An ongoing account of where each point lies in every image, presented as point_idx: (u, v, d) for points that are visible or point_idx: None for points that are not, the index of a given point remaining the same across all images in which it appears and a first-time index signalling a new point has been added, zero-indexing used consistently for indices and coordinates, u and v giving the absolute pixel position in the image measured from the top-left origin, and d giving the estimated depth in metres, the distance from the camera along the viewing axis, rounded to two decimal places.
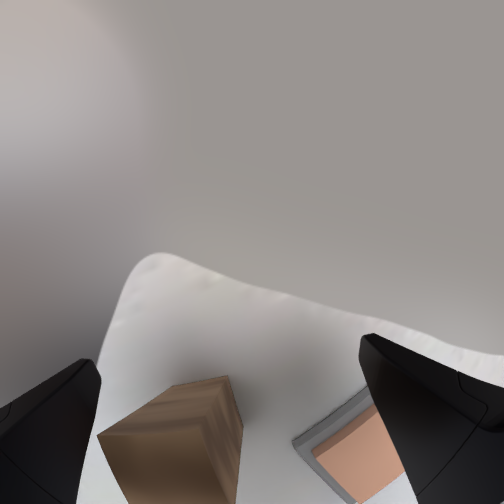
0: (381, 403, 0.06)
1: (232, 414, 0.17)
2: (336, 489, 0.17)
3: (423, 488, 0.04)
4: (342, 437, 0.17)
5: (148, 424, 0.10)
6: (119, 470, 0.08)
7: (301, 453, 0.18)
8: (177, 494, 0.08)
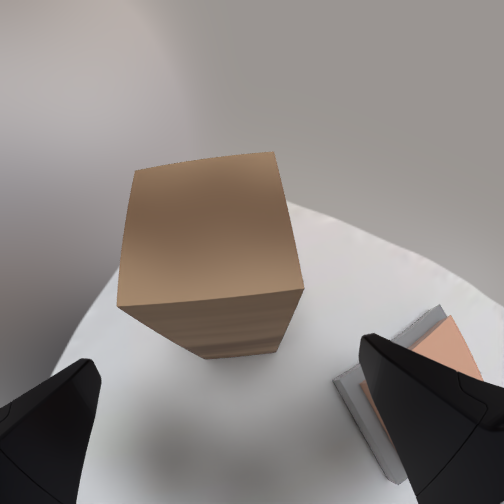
0: (381, 403, 0.06)
1: None
2: (385, 453, 0.13)
3: (423, 488, 0.04)
4: None
5: None
6: (139, 211, 0.08)
7: (347, 387, 0.15)
8: (217, 241, 0.08)
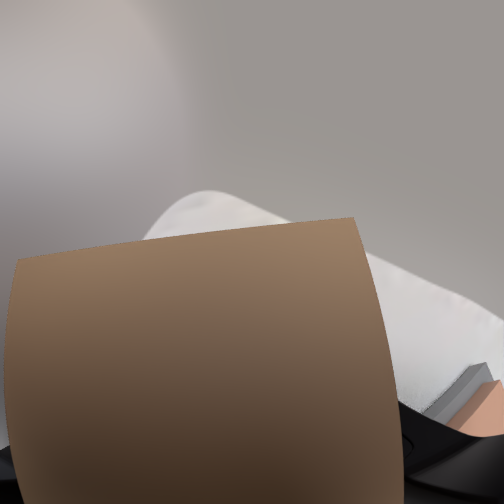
0: None
1: None
2: None
3: None
4: None
5: None
6: (21, 386, 0.02)
7: None
8: None
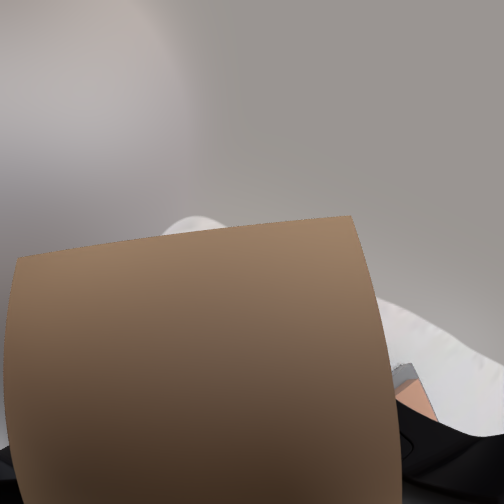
0: None
1: None
2: None
3: None
4: None
5: None
6: (20, 383, 0.02)
7: None
8: None
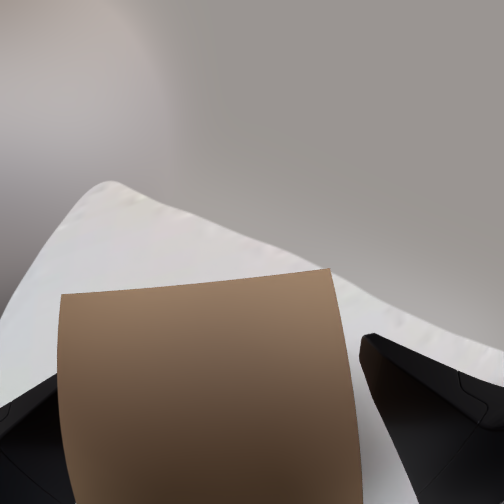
0: (381, 403, 0.06)
1: None
2: None
3: (424, 488, 0.04)
4: None
5: None
6: (76, 396, 0.04)
7: None
8: (224, 487, 0.03)
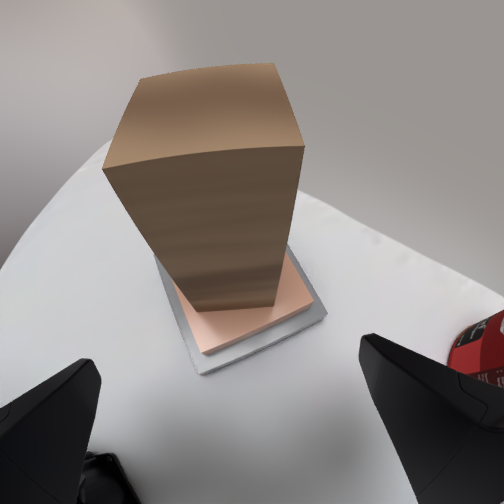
0: (381, 403, 0.06)
1: None
2: (183, 330, 0.19)
3: (423, 488, 0.04)
4: None
5: None
6: (141, 101, 0.07)
7: (158, 261, 0.21)
8: (215, 112, 0.07)
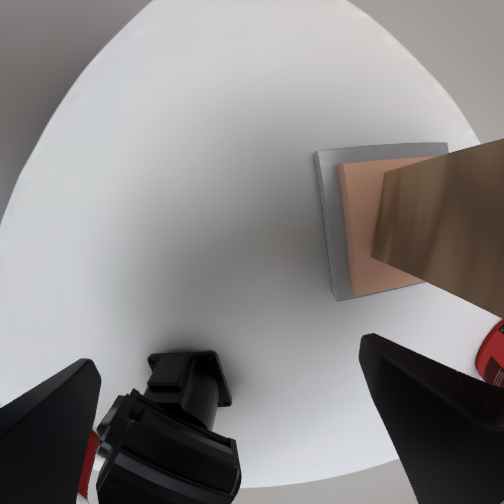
0: (381, 403, 0.06)
1: None
2: (336, 255, 0.17)
3: (423, 488, 0.04)
4: (383, 159, 0.14)
5: None
6: None
7: (322, 162, 0.16)
8: None
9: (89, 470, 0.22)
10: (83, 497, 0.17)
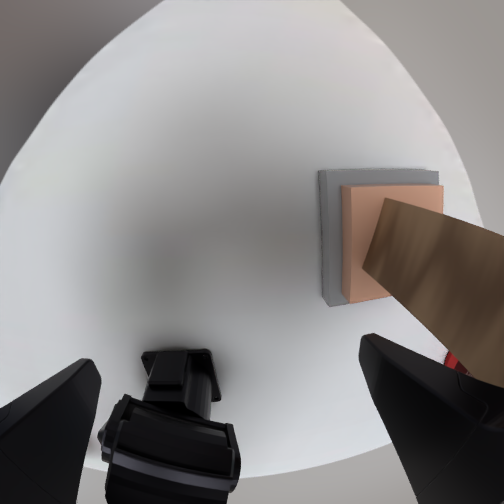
0: (381, 403, 0.06)
1: None
2: (332, 266, 0.19)
3: (424, 488, 0.04)
4: (384, 185, 0.16)
5: None
6: None
7: (329, 182, 0.18)
8: None
9: None
10: None
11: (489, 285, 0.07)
